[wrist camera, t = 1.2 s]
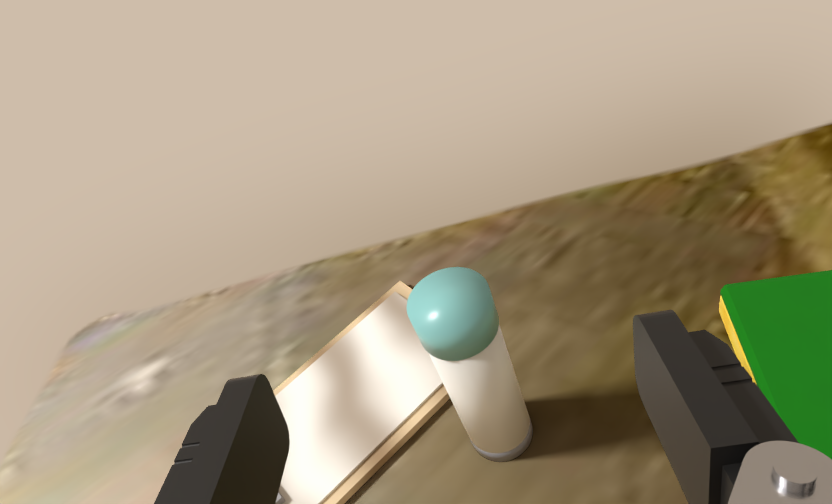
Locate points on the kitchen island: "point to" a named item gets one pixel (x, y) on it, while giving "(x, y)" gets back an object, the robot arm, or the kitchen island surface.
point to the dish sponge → (787, 348)
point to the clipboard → (356, 403)
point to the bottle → (472, 359)
